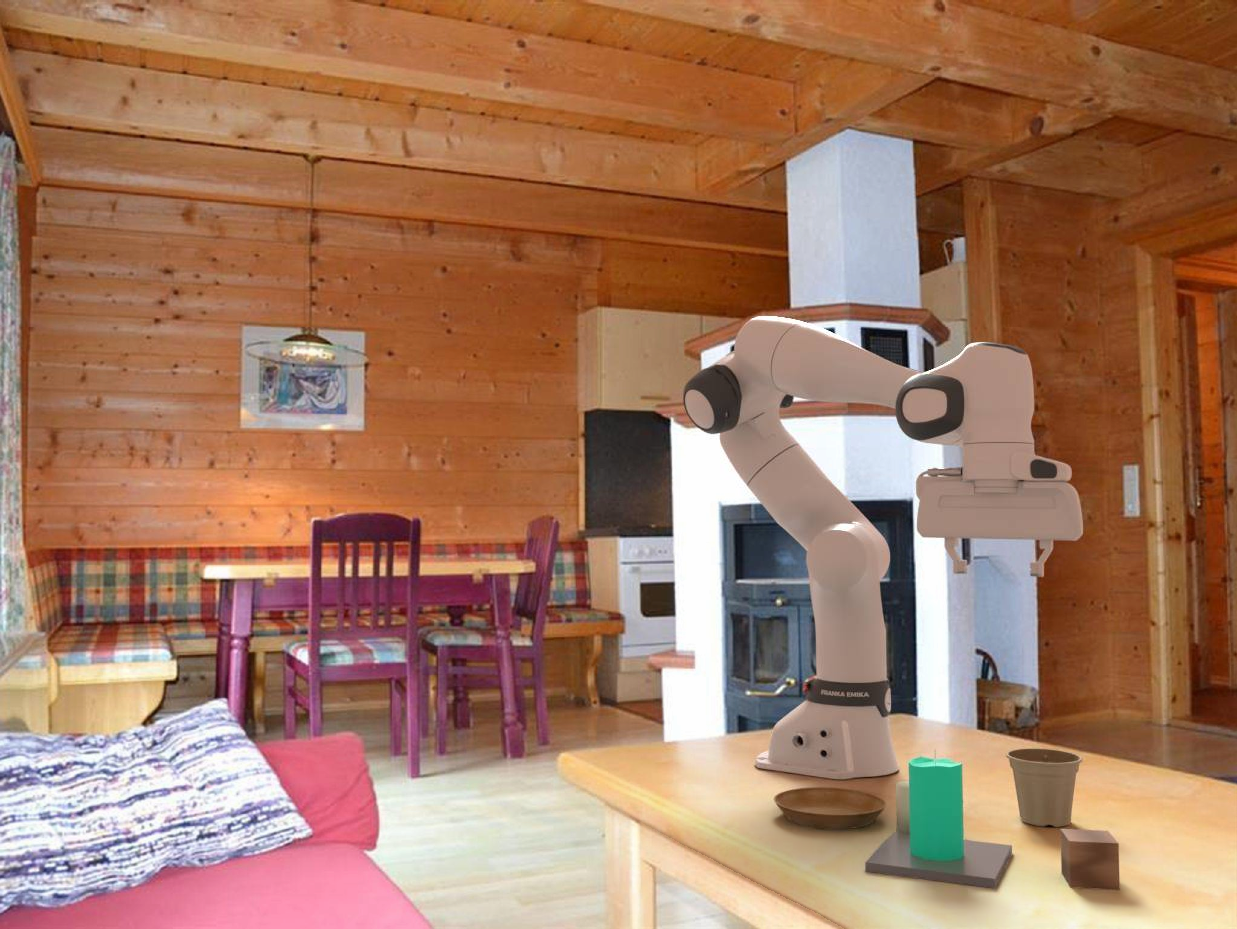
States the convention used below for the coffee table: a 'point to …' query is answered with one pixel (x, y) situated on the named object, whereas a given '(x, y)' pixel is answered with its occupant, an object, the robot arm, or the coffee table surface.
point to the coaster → (942, 862)
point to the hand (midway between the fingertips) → (998, 575)
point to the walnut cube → (1090, 859)
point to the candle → (936, 808)
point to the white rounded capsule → (903, 807)
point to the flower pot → (1044, 784)
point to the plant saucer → (830, 807)
